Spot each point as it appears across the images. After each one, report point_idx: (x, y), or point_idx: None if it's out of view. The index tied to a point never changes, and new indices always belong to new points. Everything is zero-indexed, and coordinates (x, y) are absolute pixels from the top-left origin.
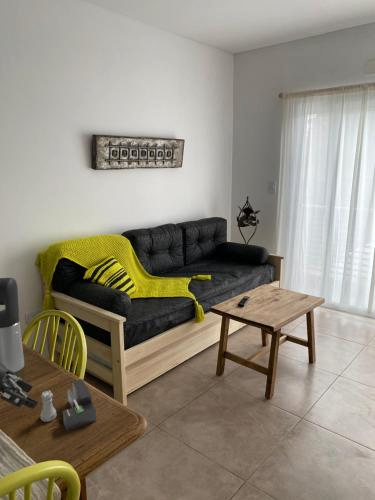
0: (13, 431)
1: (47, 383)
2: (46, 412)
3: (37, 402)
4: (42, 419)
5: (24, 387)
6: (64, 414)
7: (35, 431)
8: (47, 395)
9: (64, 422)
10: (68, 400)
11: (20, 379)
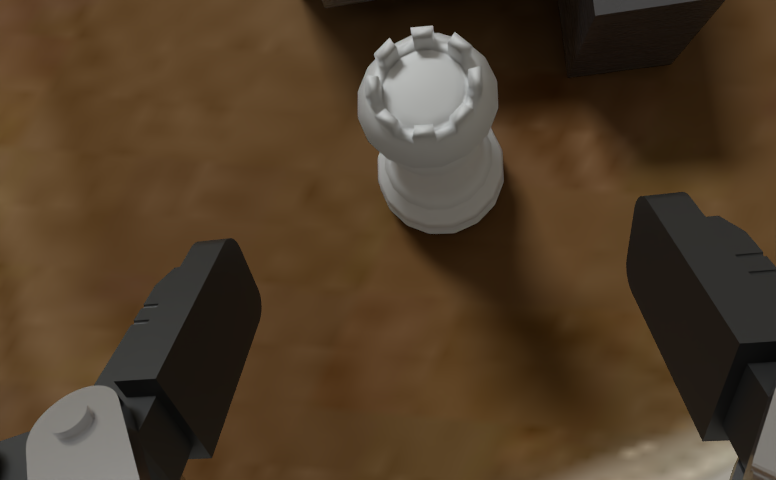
0: (501, 446)
1: (11, 153)
2: (483, 169)
3: (679, 195)
4: (472, 220)
5: (223, 345)
6: (661, 1)
7: (576, 284)
8: (483, 72)
9: (622, 54)
10: (338, 4)
11: (112, 421)
